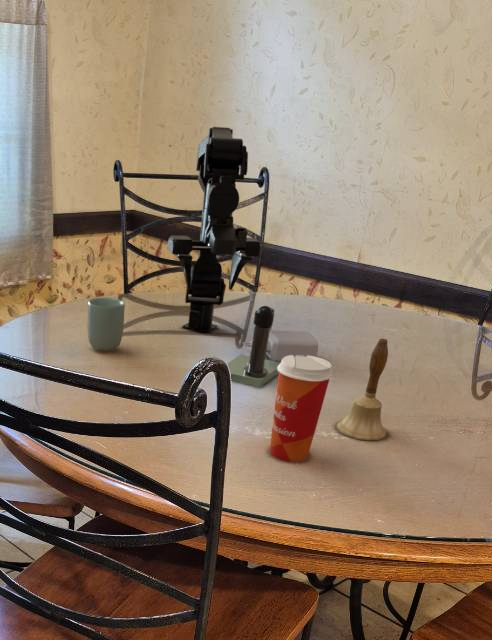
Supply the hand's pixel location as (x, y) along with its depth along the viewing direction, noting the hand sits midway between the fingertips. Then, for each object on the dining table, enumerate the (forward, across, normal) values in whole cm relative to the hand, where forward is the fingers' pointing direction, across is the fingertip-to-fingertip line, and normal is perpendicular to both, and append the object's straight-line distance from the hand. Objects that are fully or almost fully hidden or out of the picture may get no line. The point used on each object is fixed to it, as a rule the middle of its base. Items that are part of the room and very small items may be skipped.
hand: (209, 289), depth 152 cm
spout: (+4, +7, -18) cm, 19 cm away
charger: (+13, +15, -5) cm, 21 cm away
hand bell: (+13, +17, -45) cm, 50 cm away
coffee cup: (+13, 0, -54) cm, 56 cm away
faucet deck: (+13, +6, -16) cm, 21 cm away
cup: (+13, -22, 0) cm, 26 cm away
